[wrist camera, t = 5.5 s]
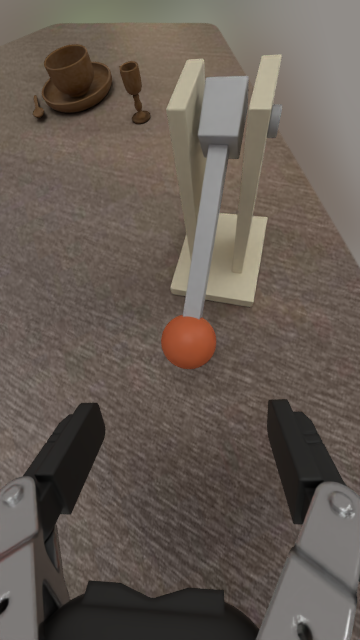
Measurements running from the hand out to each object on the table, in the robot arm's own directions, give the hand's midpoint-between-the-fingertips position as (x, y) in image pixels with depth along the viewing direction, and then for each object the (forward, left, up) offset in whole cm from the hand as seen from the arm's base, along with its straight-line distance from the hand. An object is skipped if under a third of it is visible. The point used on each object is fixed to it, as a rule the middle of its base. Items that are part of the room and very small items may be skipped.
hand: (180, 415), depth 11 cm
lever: (+1, -11, -2) cm, 11 cm away
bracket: (+1, -16, -10) cm, 19 cm away
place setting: (+28, -42, -10) cm, 51 cm away
